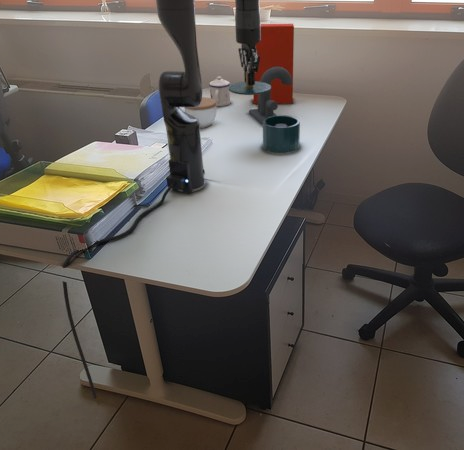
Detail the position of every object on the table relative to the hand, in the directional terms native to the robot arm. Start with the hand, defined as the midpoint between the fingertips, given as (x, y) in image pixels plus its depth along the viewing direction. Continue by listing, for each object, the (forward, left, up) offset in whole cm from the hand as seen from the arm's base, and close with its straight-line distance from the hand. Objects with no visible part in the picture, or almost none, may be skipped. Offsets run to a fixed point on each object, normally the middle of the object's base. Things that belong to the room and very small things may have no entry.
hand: (249, 83), depth 148 cm
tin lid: (0, 0, -2) cm, 2 cm away
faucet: (+37, +7, -23) cm, 44 cm away
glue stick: (+7, -8, -23) cm, 25 cm away
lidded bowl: (+17, +30, -23) cm, 42 cm away
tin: (+7, -8, -23) cm, 26 cm away
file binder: (+57, +16, -23) cm, 63 cm away
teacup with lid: (+44, +36, -23) cm, 61 cm away
